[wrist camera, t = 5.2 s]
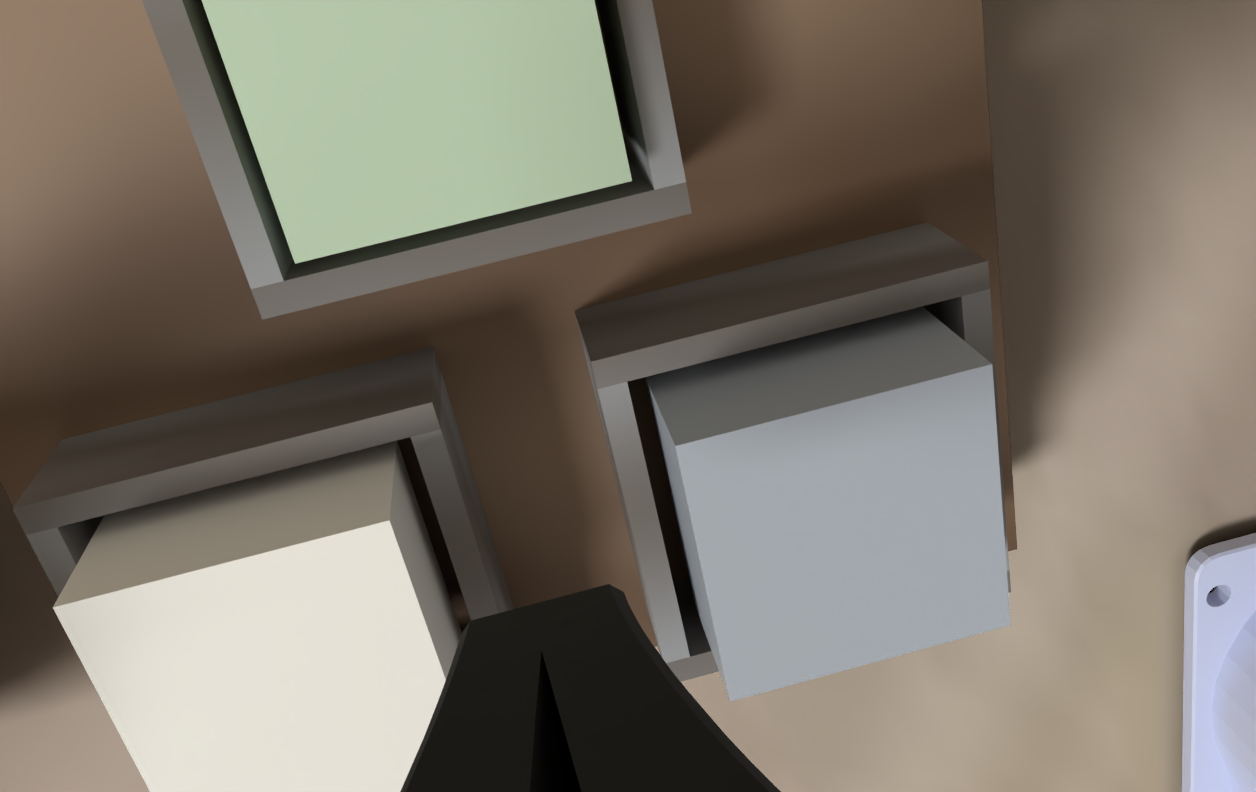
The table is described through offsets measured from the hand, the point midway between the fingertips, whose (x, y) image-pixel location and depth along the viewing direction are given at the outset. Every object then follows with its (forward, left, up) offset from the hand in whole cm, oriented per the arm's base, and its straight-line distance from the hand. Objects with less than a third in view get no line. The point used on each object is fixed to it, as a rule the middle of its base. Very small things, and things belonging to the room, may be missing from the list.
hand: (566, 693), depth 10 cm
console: (+2, 0, -9) cm, 10 cm away
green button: (+5, 0, -7) cm, 9 cm away
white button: (-2, +4, -6) cm, 7 cm away
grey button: (-2, -4, -6) cm, 7 cm away
